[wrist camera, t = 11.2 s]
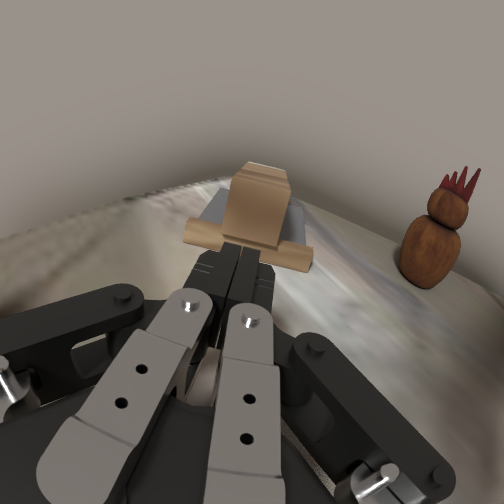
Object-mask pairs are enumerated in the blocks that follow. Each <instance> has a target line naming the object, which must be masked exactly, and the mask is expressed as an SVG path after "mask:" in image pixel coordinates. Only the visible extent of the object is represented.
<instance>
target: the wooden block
mask: <svg viewBox="0 0 504 504" xmlns="http://www.w3.org/2000/svg"><path fill="white" fill-rule="evenodd" d="M290 194H291V190H290V186H289V183H288V179H287V176H286V172H285V170H281V169H277V168H273V167H269V166H265V165H261V164H257V163H252V162H247V163H246V164H245V165H244V166H243V167H242V168H241V169H240V170H239V171H238V172H237V173H236V174H235V175H234V176H233V177H232V181H231V185H230V190H229V195H228V199H227V204H226V208H225V213H224V218H223V223H222V227H221V232H220V233H222V234H226V235H230V236H234V237H238V238H242V239H246V240H251V241H255V242H259V243H263V244H267V245H271V246H275V247H276V246H277V242H278V238H279V235H280V231H281V227H282V224H283V220H284V216H285V213H286V209H287V205H288V202H289V198H290Z"/></svg>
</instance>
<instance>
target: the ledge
mask: <svg viewBox="0 0 504 504" xmlns="http://www.w3.org/2000/svg"><path fill="white" fill-rule="evenodd" d="M221 227H222V225H221V224H217V223H213V222H209V221H205V220H201V219H196V218H192V217H190V218H189V220H188V221H187V222H186V225H185V232H184V240H183V242H185V243H189V244H193V245H197V246H201V247H205V248H209V249H213V250H217V251H220V250H221V248H222V246H223V243H224V241H225V242H229V243H233V244H237V245H241V246H242V249H243V246H246V247H250V248H254V249H258V250H261V253H260V258H259V261H261V262H265V263H269V264H273V265H277V266H281V267H285V268H289V269H293V270H297V271H301V272H305V273H307V272H308V269H309V266H310V264H311V261H312V258H313V255H314V254H313V247H309V246H305V245H301V244H297V243H294V242H290V241H286V240H282V239H278V242H277V246H276V247H275V246H271V245H267V244H263V243H259V242H255V241H251V240H246V239H242V238H238V237H234V236H230V235H226V234H222V233H220V232H221ZM242 249H241V252H242ZM240 256H241V254H240Z"/></svg>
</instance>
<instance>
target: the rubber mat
mask: <svg viewBox="0 0 504 504" xmlns="http://www.w3.org/2000/svg"><path fill="white" fill-rule="evenodd" d="M228 195H229V190H228V189H224V188H220V189H219V190H218V192H217V193H216V195H215V196H214V197H213V199H212V200H211V201H210V203H209V204H208V206H207V207H206V208H205V210H204V211H203V213H202V214H201V215H200V217H199V218H198V219H201V220H205V221H209V222H213V223H217V224H221V225H222V223H223V218H224V213H225V208H226V204H227V199H228ZM278 239H282V240H286V241H290V242H294V243H297V244H301V245H305V246H306V238H305V227H304V216H303V208H300V207H296V206H293V205H289V204H288V205H287V209H286V213H285V216H284V220H283V224H282V227H281V231H280V235H279V238H278Z"/></svg>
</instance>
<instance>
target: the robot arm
mask: <svg viewBox="0 0 504 504" xmlns="http://www.w3.org/2000/svg"><path fill="white" fill-rule="evenodd" d="M241 249H242V246H241V245H237V244H233V243H229V242H225V241H224V243H223V246H222V248H221V250H220V252H215V251H211V250H208V251H206V252H204V253H203V254H201V255H200V256H199V258H198V260H197V262H196V264H195V266H194V267H193V269H192V271H191V273H190V275H189V277H188V279H187V280H186V282H185V284H184V286H183V288H182V289H178V290H176V291H174V292H173V293H172V294H171V295H170V296H169V298H168V299H167V300H144V295H143V293H142V291H141V290H140V289H139V288H137V287H135V286H133V285H130V284H114V285H111V286H107V287H104V288H101V289H97V290H94V291H91V292H87V293H84V294H81V295H77V296H74V297H71V298H67V299H64V300H61V301H57V302H54V303H51V304H47V305H44V306H41V307H37V308H34V309H31V310H27V311H24V312H21V313H18V314H14V315H11V316H8V317H5V318H1V319H0V504H437V503H439V502H440V501H442V500H444V499H446V498H447V497H449V496H450V495H451V494H452V492H453V490H454V488H455V484H456V477H455V473H454V470H453V468H452V467H451V465H450V464H449V463H448V462H447V461H446V460H445V459H444V458H443V457H442V456H441V455H440V454H439V453H438V452H437V451H436V450H435V449H434V448H433V447H432V446H431V445H430V444H429V443H428V442H427V440H426V439H425V438H424V437H423V436H422V435H421V434H420V433H419V432H418V431H417V430H416V429H415V428H414V427H413V426H412V425H411V424H410V423H409V422H408V421H407V420H406V419H405V418H404V417H403V416H402V415H401V414H400V413H399V412H398V411H397V410H396V408H395V407H394V406H393V405H392V404H391V403H390V402H389V401H388V400H387V399H386V398H385V397H384V396H383V395H382V394H381V393H380V392H379V391H378V390H377V389H376V388H375V387H374V386H373V385H372V384H371V383H370V382H369V380H368V379H367V378H366V377H365V376H364V375H363V374H362V373H361V372H360V371H359V370H358V369H357V368H356V367H355V366H354V365H353V364H352V363H351V362H350V361H349V360H348V359H347V358H346V357H345V356H344V355H343V353H342V352H341V351H340V350H339V349H338V348H337V347H336V346H335V345H334V344H333V343H332V342H331V341H330V340H329V339H327V338H326V337H324V336H322V335H320V334H317V333H311V332H307V333H302V334H300V335H298V336H297V337H296V338H294V337H292V336H290V335H288V334H286V333H284V332H283V331H281V330H280V329H279V328H277V327H276V325H275V324H274V323H273V318H272V316H271V310H272V301H273V291H274V282H275V272H274V270H273V268H272V266H271V265H267V264H263V263H259V258H260V253H261V250H258V249H254V248H250V247H246V246H243V249H242V252H241ZM240 254H241V256H240ZM239 258H240V259H239ZM220 328H221V329H220ZM219 331H220V334H219ZM102 334H105V335H106V338H103V339H100V340H97V341H95V342H92V343H89V344H86V345H83V346H81V347H78V348H75V349H72V347H73V346H74V345H75V344H77V343H79V342H82V341H85V340H88V339H91V338H93V337H96V336H99V335H102ZM218 335H219V338H218ZM217 338H218V343H217V348H216V349H220V350H221V352H220V356H219V361H218V365H217V370H216V376H215V382H214V388H213V394H212V400H211V406H210V407H198V406H191V405H188V404H186V403H185V402H186V400H187V397H188V395H189V393H190V390H191V388H192V386H193V383H194V381H195V379H196V377H197V374H198V372H199V370H200V367H201V365H202V362H203V358H204V357H205V355H206V352H207V349H208V347H212V348H215V345H216V341H217ZM71 349H72V350H71ZM96 384H97V385H96ZM94 385H96V386H94ZM91 386H92V387H91ZM68 395H69V396H68ZM63 397H64V398H63ZM61 398H62V399H61ZM58 399H59V400H58ZM55 400H57V401H55ZM53 401H55V402H53ZM50 402H52V403H50ZM47 403H50V404H47ZM44 404H47V405H45V406H42V405H44ZM40 406H42V407H40ZM280 416H281V417H282V418H283V420H284V421H285V422H286V424H287V425H288V426H289V427H290V429H291V430H292V431H293V433H294V434H295V435H296V437H297V438H298V439H299V440H300V442H301V443H302V444H303V446H304V447H305V448H306V449H307V451H308V452H309V453H310V454H311V456H312V457H313V458H314V459H315V461H316V462H317V463H318V464H319V466H320V467H321V468H322V469H323V470H324V472H325V473H326V474H327V475H328V477H329V478H330V479H331V480H332V481H333V483H334V484H335V485H336V487H335V490H334V497H333V496H332V495H331V493H330V492H329V491H328V490H327V488H326V487H325V486H324V484H323V483H322V482H321V480H320V479H319V478H318V476H317V475H316V474H315V472H314V471H313V470H312V468H311V467H310V466H309V464H308V463H307V462H306V460H305V459H304V458H303V456H302V455H301V453H300V452H299V451H298V449H297V448H296V447H295V446H294V445H293V444H292V443H291V442H290V441H289V440H288V439H287V438H286V437H284V436H283V435H282V434H281V427H280Z"/></svg>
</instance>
